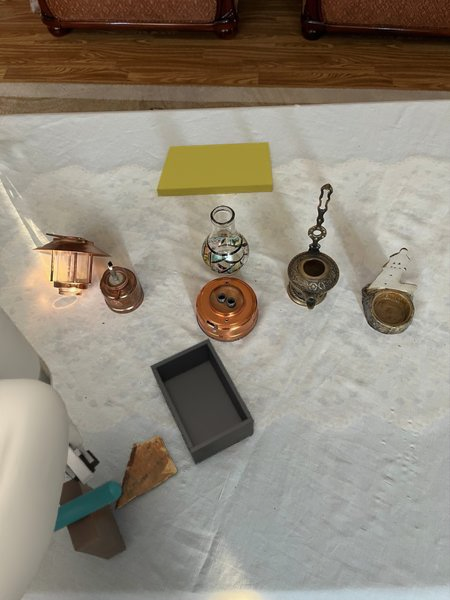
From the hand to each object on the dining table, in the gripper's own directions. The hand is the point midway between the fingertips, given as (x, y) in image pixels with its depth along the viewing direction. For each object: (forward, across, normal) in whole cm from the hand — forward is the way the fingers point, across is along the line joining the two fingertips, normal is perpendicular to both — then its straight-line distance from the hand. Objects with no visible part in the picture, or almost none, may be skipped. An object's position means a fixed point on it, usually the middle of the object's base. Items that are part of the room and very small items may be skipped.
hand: (62, 439), depth 61 cm
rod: (+8, +5, -4) cm, 10 cm away
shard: (+25, +4, +6) cm, 26 cm away
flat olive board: (+23, -36, +56) cm, 70 cm away
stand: (+25, +5, -4) cm, 25 cm away
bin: (+24, +1, +19) cm, 31 cm away
